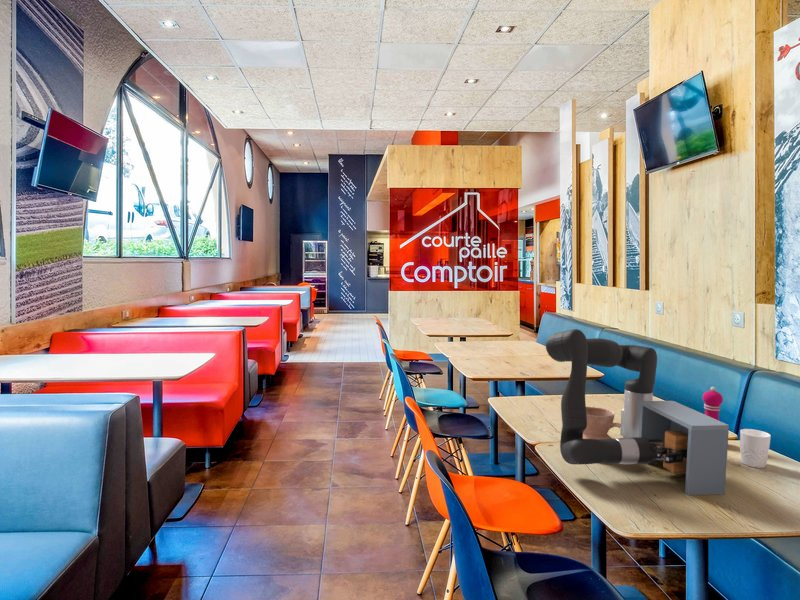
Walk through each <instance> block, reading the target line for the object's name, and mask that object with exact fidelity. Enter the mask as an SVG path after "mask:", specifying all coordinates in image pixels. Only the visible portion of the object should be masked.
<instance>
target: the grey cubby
mask: <svg viewBox="0 0 800 600" xmlns="http://www.w3.org/2000/svg"><path fill="white" fill-rule="evenodd" d="M729 430H730V425H729V424H727V423H725V422H723V421H720V420H719V421H718V420H716V419H714V418H711V417H709V416H707V415H705V413H702V412H700V411H698V410H695V409H693V408H690V407H689V406H686V405H684V404H681V403H679V402H677V401H674V400H653V401H641V410H640V430H639V437H644V438H646V439H658V440H659V439H660V440H662V442H665V431H683V432H685V433H687V434H688V447H687V465H686V473H685V483H684V485H685V487H684V494H685V495H687V496H701V495H704V496H705V495H725V493H726V479H727V462H728V461H727V460H728V446H729V432H730V431H729ZM663 461H664V459H661V460H659V459H655V458H654V459H652V461H651V462H663Z"/></svg>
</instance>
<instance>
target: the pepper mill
mask: <svg viewBox="0 0 800 600" xmlns="http://www.w3.org/2000/svg"><path fill="white" fill-rule="evenodd" d="M709 389H710V390H708V391H705V392H704V393H703V394H702V401H703V402H704V403H703V405H704V406H703V408H704V414H705V415H707V416H709V417H711V418H714V419H716V420H718V421H720V419H719V414H720V413H719V412H720V410H721V407H722V406H721V404H722V403H723V400H724V399H723V395H722V394H721V393H720V392H718V391H717V387H715V386H711V387H710V388H709Z"/></svg>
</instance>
